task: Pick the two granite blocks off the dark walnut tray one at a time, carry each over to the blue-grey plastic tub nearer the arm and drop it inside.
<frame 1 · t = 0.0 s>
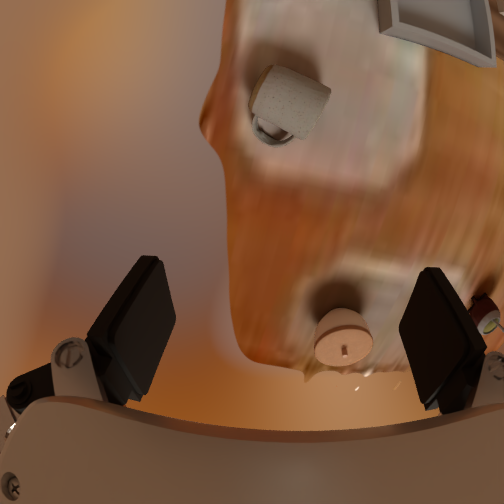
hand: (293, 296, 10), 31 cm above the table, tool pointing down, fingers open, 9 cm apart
lidded jar: (338, 318, 52), on the table
mate gourd: (476, 300, 47), on the table
tub: (430, 0, 20), on the table
ceramic mug: (285, 109, 34), on the table
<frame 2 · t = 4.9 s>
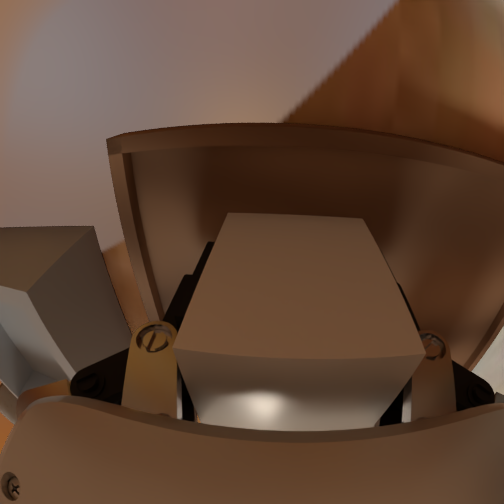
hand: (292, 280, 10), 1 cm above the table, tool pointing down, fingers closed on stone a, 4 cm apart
walnut tray: (356, 324, 13), on the table
stone a: (292, 271, 11), point 1 cm above the table, touching gripper, walnut tray
tub: (47, 328, 17), on the table
ceramic mug: (31, 394, 31), on the table
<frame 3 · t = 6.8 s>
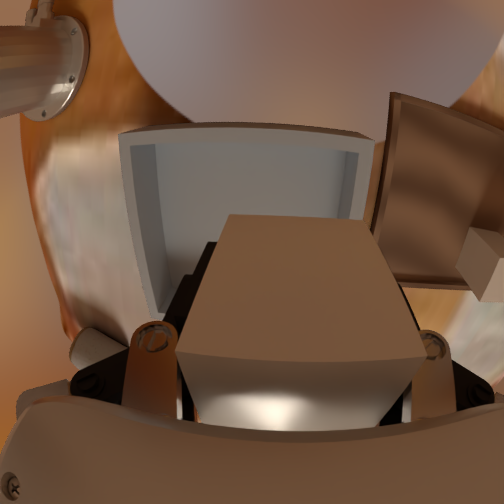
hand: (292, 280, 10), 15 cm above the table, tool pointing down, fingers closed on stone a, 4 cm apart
walnut tray: (463, 208, 21), on the table
stone b: (477, 249, 22), point 1 cm above the table, touching walnut tray
stone a: (293, 273, 11), point 14 cm above the table, touching gripper
tub: (246, 221, 26), on the table
ceramic mug: (110, 344, 40), on the table
when the fingers open (4 cm above the table, at t = 8.8 s): stone a drops 2 cm, resting on tub.
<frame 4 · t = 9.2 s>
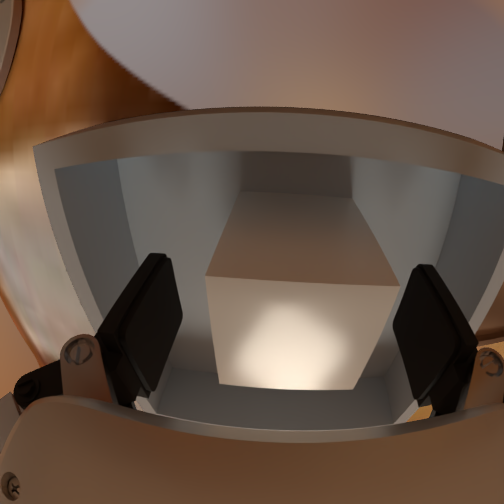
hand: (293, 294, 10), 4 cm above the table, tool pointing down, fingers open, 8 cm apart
stone a: (293, 243, 13), point 1 cm above the table, touching tub
tub: (287, 284, 15), on the table
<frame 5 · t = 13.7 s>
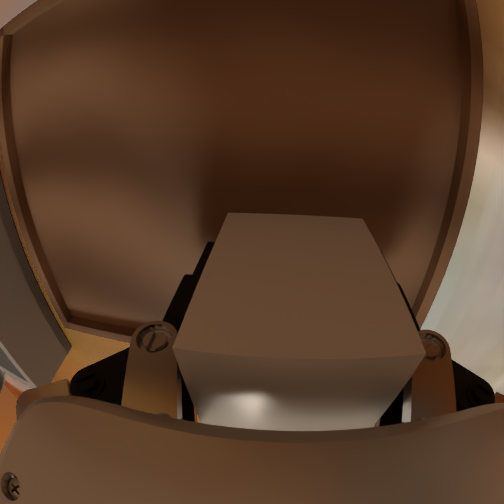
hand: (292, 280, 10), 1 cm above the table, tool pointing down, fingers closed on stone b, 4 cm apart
walnut tray: (199, 165, 10), on the table
stone b: (292, 271, 11), point 1 cm above the table, touching gripper, walnut tray
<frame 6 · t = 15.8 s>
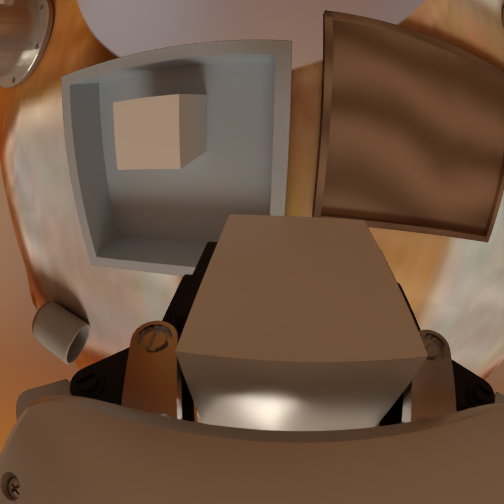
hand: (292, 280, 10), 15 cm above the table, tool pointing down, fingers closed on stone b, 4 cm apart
walnut tray: (430, 134, 19), on the table
stone b: (293, 273, 11), point 14 cm above the table, touching gripper
stone a: (178, 123, 21), point 1 cm above the table, touching tub
tub: (182, 156, 23), on the table
ceramic mug: (73, 321, 39), on the table
when the fingers open (4 cm above the table, at t = 18.1 s): stone b drops 2 cm, resting on tub.
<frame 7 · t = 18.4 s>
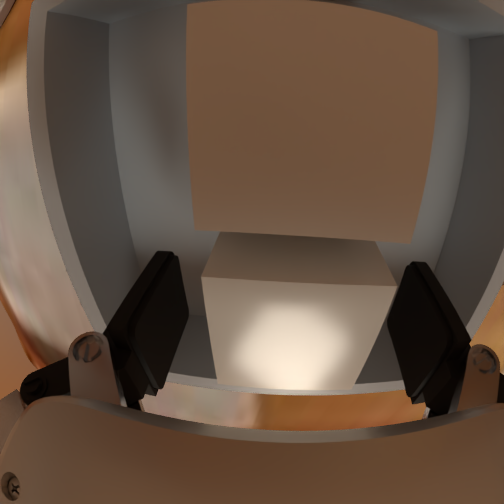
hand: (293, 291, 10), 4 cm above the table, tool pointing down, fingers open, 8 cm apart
stone b: (291, 243, 13), point 1 cm above the table, touching tub
stone a: (298, 108, 10), point 1 cm above the table, touching tub
tub: (294, 175, 12), on the table
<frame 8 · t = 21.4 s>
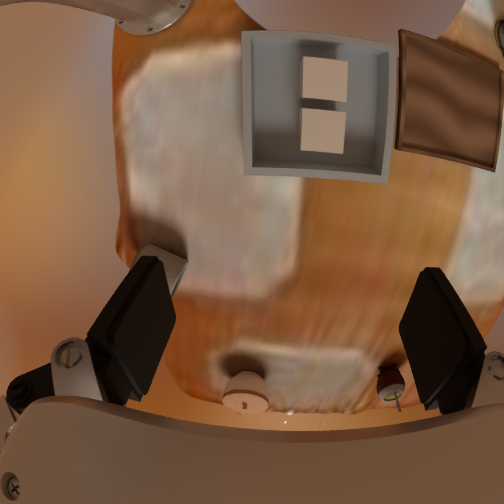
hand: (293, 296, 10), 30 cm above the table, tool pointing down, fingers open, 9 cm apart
walnut tray: (455, 103, 28), on the table
lidded jar: (248, 377, 64), on the table
mate gourd: (386, 368, 58), on the table
stone b: (316, 125, 33), point 1 cm above the table, touching tub
stone a: (318, 81, 29), point 1 cm above the table, touching tub
tub: (316, 103, 32), on the table
ceramic mug: (165, 264, 48), on the table
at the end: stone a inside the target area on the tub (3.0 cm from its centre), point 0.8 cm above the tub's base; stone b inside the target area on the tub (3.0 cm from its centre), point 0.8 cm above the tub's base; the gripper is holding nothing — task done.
